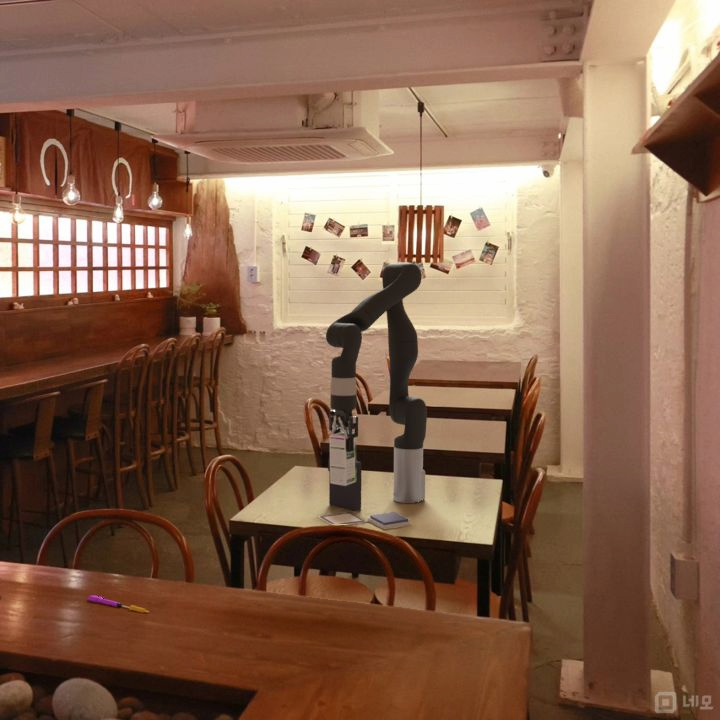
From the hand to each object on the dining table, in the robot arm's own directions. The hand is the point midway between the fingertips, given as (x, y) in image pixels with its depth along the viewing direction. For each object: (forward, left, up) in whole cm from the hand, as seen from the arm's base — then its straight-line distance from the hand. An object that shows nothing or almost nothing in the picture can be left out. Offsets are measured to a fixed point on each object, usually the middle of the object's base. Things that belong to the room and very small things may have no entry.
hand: (343, 448), depth 228 cm
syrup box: (0, 0, -10) cm, 10 cm away
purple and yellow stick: (+70, +34, -22) cm, 81 cm away
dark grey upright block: (-6, -11, -21) cm, 25 cm away
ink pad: (-10, +9, -21) cm, 25 cm away
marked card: (0, 0, -21) cm, 21 cm away
